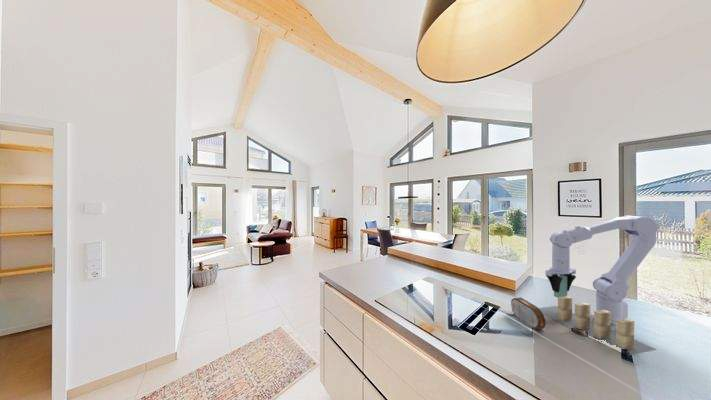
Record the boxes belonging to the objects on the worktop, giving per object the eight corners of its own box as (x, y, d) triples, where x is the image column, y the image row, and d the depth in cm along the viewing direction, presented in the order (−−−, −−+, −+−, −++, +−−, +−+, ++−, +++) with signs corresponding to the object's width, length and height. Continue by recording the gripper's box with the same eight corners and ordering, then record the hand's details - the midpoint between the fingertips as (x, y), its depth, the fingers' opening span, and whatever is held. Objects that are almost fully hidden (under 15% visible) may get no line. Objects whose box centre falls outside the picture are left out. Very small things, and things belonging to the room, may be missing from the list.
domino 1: (562, 295, 102) (562, 275, 102) (567, 296, 100) (567, 276, 100) (553, 296, 101) (554, 275, 101) (558, 297, 99) (558, 277, 99)
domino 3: (584, 325, 89) (584, 302, 89) (589, 327, 87) (590, 304, 87) (574, 326, 88) (574, 303, 88) (580, 329, 86) (580, 305, 86)
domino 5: (626, 344, 78) (626, 318, 77) (634, 348, 76) (634, 320, 76) (615, 346, 76) (616, 319, 76) (623, 350, 75) (623, 322, 75)
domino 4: (604, 334, 83) (604, 309, 83) (610, 337, 82) (610, 312, 82) (593, 336, 82) (593, 311, 82) (600, 339, 81) (600, 313, 80)
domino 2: (567, 317, 95) (567, 295, 95) (572, 319, 93) (572, 297, 93) (557, 318, 94) (557, 297, 94) (562, 321, 92) (562, 298, 92)
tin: (546, 333, 84) (546, 311, 84) (538, 333, 84) (538, 311, 84) (516, 313, 100) (516, 294, 99) (509, 313, 99) (509, 294, 99)
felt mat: (555, 306, 105) (555, 305, 105) (657, 350, 75) (657, 349, 75) (531, 309, 102) (531, 309, 102) (626, 356, 72) (626, 355, 72)
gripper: (563, 256, 106) (563, 286, 106) (538, 258, 103) (538, 288, 103) (581, 260, 99) (581, 292, 99) (555, 263, 96) (555, 295, 96)
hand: (560, 290), depth 101 cm, fingers closed on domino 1, 5 cm apart
